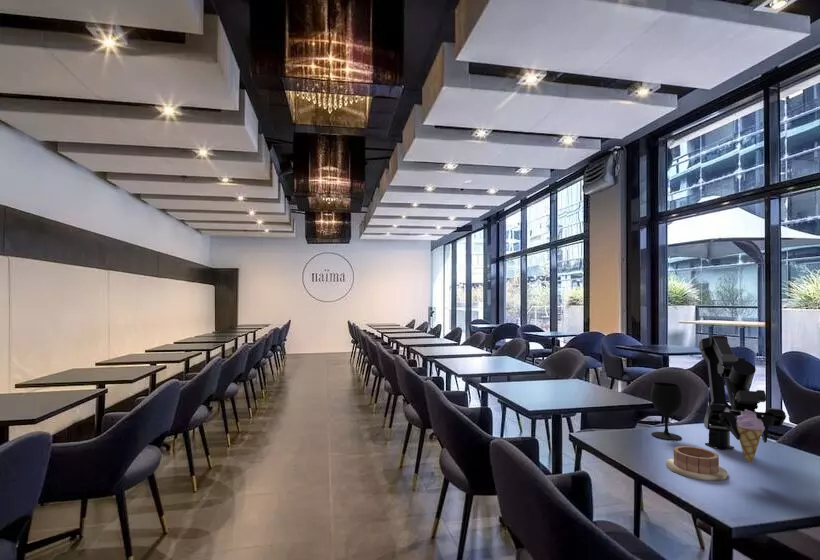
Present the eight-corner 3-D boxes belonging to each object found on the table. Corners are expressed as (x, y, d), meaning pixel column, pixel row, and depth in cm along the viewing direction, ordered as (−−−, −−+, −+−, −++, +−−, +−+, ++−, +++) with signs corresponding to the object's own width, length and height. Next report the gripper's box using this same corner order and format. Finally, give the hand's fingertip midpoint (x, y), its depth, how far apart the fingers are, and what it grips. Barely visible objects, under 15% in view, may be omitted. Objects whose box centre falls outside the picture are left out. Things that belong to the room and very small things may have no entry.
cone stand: (690, 458, 150) (690, 441, 150) (740, 476, 135) (740, 458, 135) (654, 464, 145) (654, 446, 145) (701, 483, 130) (701, 464, 130)
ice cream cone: (755, 458, 135) (755, 408, 136) (770, 466, 129) (769, 413, 130) (732, 457, 136) (731, 407, 137) (745, 465, 130) (744, 412, 130)
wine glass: (678, 434, 178) (678, 383, 179) (685, 442, 168) (684, 387, 169) (649, 431, 181) (648, 381, 182) (653, 438, 171) (653, 385, 172)
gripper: (709, 377, 140) (719, 422, 130) (783, 381, 134) (800, 429, 123) (702, 397, 147) (712, 441, 137) (772, 402, 141) (788, 450, 130)
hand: (752, 440), depth 132 cm, fingers closed on ice cream cone, 6 cm apart
